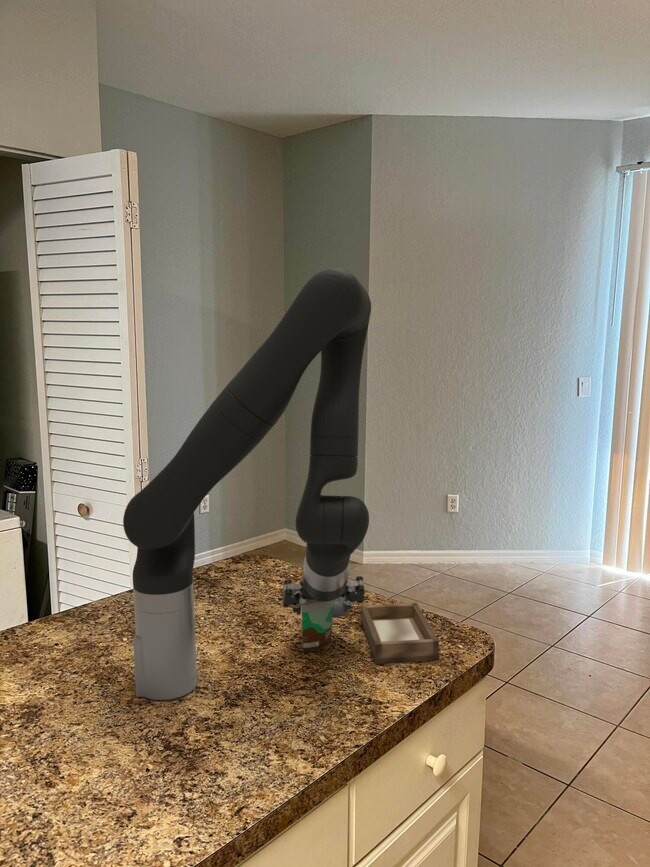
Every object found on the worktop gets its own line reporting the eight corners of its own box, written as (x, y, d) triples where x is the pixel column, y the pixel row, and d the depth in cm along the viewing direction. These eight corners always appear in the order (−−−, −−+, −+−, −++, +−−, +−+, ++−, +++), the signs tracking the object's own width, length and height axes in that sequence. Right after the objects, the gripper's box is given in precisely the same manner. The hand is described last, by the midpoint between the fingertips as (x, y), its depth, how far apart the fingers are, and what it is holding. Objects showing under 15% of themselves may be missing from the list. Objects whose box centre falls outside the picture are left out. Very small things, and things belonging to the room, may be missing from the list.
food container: (337, 655, 122) (336, 601, 121) (302, 655, 122) (301, 601, 121) (337, 626, 134) (337, 576, 133) (305, 626, 134) (304, 576, 133)
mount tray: (375, 664, 119) (375, 644, 118) (361, 623, 135) (361, 605, 135) (438, 660, 120) (439, 641, 119) (416, 620, 136) (416, 603, 136)
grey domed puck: (321, 618, 138) (321, 604, 138) (318, 606, 144) (318, 593, 144) (351, 617, 139) (351, 602, 138) (347, 605, 145) (347, 591, 144)
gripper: (366, 547, 117) (357, 587, 130) (281, 551, 116) (281, 591, 129) (371, 588, 112) (362, 626, 125) (283, 593, 111) (283, 630, 124)
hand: (321, 608), depth 127 cm, fingers open, 8 cm apart
